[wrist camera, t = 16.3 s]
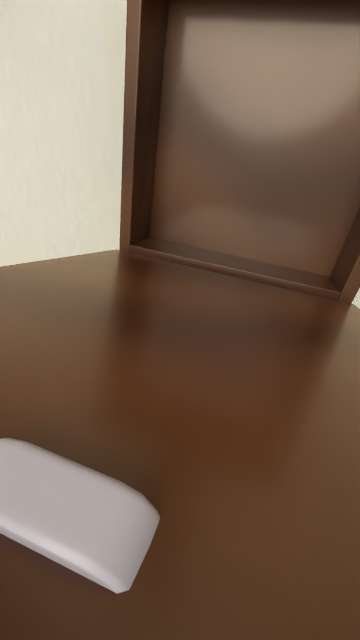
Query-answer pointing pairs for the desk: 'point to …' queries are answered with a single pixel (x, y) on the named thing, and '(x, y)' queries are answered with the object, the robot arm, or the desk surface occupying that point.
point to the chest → (245, 140)
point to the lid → (189, 447)
